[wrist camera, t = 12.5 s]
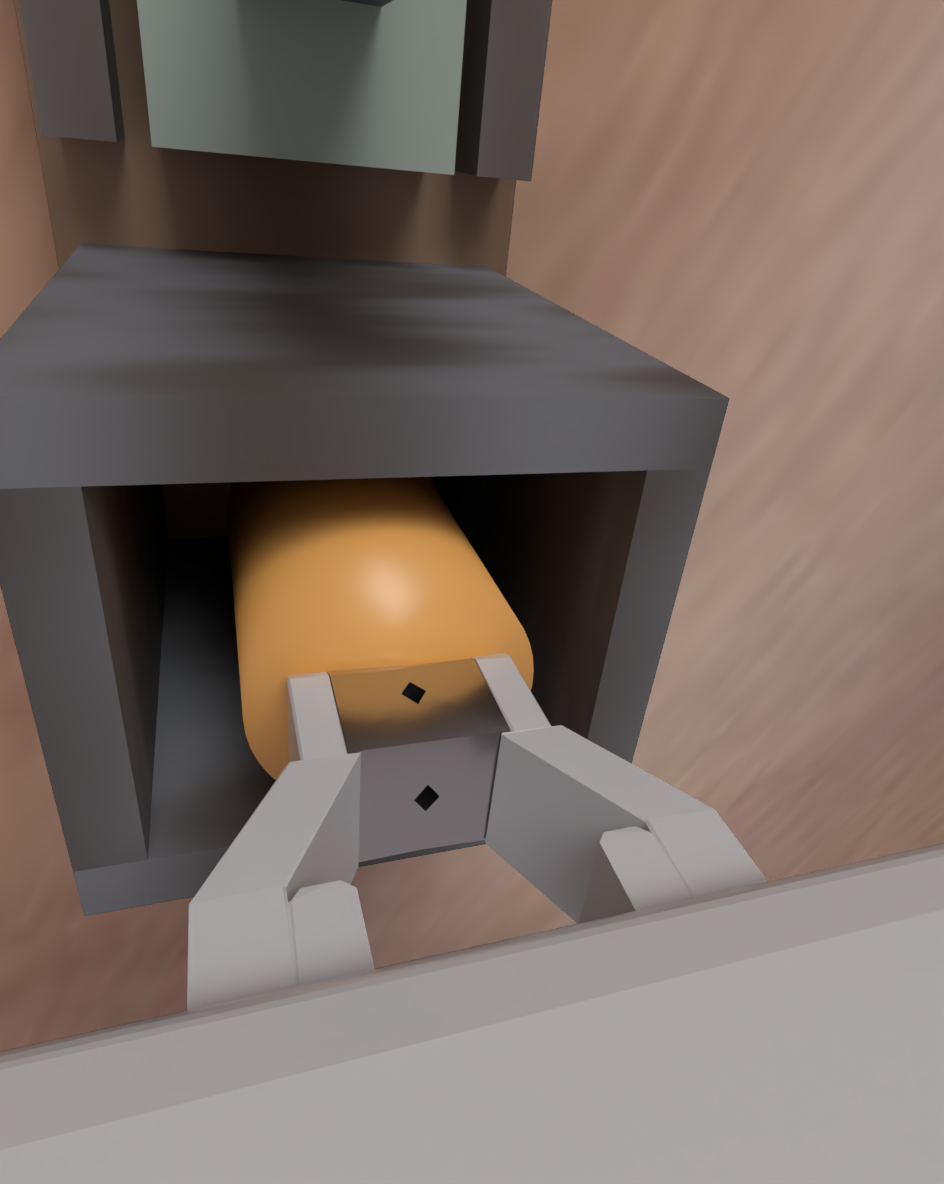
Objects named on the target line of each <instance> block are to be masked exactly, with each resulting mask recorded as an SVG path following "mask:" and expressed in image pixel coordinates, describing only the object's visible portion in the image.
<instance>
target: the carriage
mask: <svg viewBox="0 0 944 1184" xmlns="http://www.w3.org/2000/svg"><path fill="white" fill-rule="evenodd" d="M466 5H467V0H137V7H138V17H139V27H140V36H141V46H142V56H143V66H144V75H145V85H146V95H147V104H148V114H149V124H150V133H151V143H152V147H161V148H171V149H182V150H193V151H203V152H214V153H225V154H235V155H246V156H257V157H267V158H278V159H289V160H299V161H310V162H321V163H332V164H342V165H353V166H364V167H374V168H385V169H396V170H406V171H417V172H428V173H438V174H449V175H454V171H455V157H456V144H457V130H458V116H459V102H460V88H461V74H462V60H463V46H464V33H465V19H466Z"/></svg>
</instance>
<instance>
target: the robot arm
mask: <svg viewBox="0 0 944 1184" xmlns="http://www.w3.org/2000/svg"><path fill="white" fill-rule="evenodd" d="M286 691H287V720H288V747H289V762H288V764H287V765H286V767H285V768H284V769H283V771H282V772H281V774H280V775H279V777H278V778H277V779H276V781H275V782H274V784H273V785H272V787H271V788H270V789H269V791H268V792H267V794H266V795H265V797H264V798H263V799H262V801H261V802H260V804H259V805H258V807H257V808H256V809H255V811H254V812H253V814H252V815H251V817H250V818H249V819H248V821H247V822H246V824H245V825H244V827H243V828H242V829H241V831H240V832H239V834H238V835H237V837H236V838H235V839H234V841H233V842H232V844H231V845H230V847H229V848H228V849H227V851H226V852H225V854H224V855H223V857H222V858H221V859H220V861H219V862H218V864H217V865H216V867H215V868H214V869H213V871H212V872H211V874H210V875H209V877H208V878H207V879H206V881H205V882H204V884H203V885H202V887H201V888H200V889H199V891H198V892H197V894H196V895H195V896H194V898H193V899H192V901H191V902H190V904H189V925H188V985H187V1010H186V1011H182V1012H177V1013H172V1014H168V1015H163V1016H159V1017H154V1018H150V1019H145V1020H141V1021H136V1022H132V1023H127V1024H123V1025H118V1026H114V1027H109V1028H105V1029H100V1030H96V1031H91V1032H87V1033H82V1034H78V1035H73V1036H69V1037H64V1038H60V1039H55V1040H51V1041H46V1042H41V1043H37V1044H32V1045H28V1046H23V1047H19V1048H14V1049H10V1050H5V1051H1V1052H0V1184H944V843H941V844H936V845H932V846H927V847H923V848H918V849H914V850H909V851H905V852H900V853H896V854H891V855H887V856H882V857H878V858H873V859H869V860H864V861H859V862H855V863H850V864H846V865H841V866H837V867H832V868H828V869H823V870H819V871H814V872H810V873H805V874H801V875H796V876H792V877H787V878H783V879H778V880H774V881H769V882H768V881H767V879H766V878H765V877H764V875H763V874H762V873H761V871H760V870H759V869H758V867H757V866H756V865H755V863H754V862H753V861H752V859H751V858H750V857H749V855H748V854H747V852H746V851H745V850H744V848H743V847H742V846H741V844H740V843H739V842H738V840H737V839H736V838H735V836H734V835H733V834H732V832H731V831H730V829H729V828H728V827H727V825H726V824H725V823H724V821H723V820H722V819H721V817H720V816H719V815H718V813H717V812H716V811H715V809H713V808H711V807H709V806H707V805H706V804H704V803H702V802H700V801H698V800H696V799H695V798H693V797H691V796H689V795H687V794H686V793H684V792H682V791H680V790H678V789H676V788H675V787H673V786H671V785H669V784H667V783H666V782H664V781H662V780H660V779H658V778H656V777H655V776H653V775H651V774H649V773H647V772H646V771H644V770H642V769H640V768H638V767H637V766H635V765H633V764H631V763H629V762H627V761H626V760H624V759H622V758H620V757H618V756H617V755H615V754H613V753H611V752H609V751H607V750H606V749H604V748H602V747H600V746H598V745H597V744H595V743H593V742H591V741H589V740H587V739H586V738H584V737H582V736H580V735H578V734H577V733H575V732H573V731H571V730H569V729H568V728H566V727H564V726H562V725H558V726H551V725H550V723H549V721H548V720H547V718H546V716H545V714H544V713H543V711H542V709H541V708H540V706H539V704H538V703H537V701H536V699H535V697H534V696H533V694H532V692H531V691H530V689H529V687H528V686H527V684H526V682H525V680H524V679H523V677H522V675H521V674H520V672H519V670H518V669H517V667H516V665H515V663H514V662H513V660H512V658H511V657H510V656H509V655H507V654H506V653H499V654H491V655H483V656H476V657H470V659H461V660H452V661H443V662H433V663H424V664H415V665H405V666H402V665H399V666H387V667H375V668H363V669H350V670H338V671H327V673H326V672H317V673H307V674H296V675H287V682H286ZM481 840H486V841H485V843H486V844H487V845H488V846H489V847H491V848H492V849H493V850H494V851H495V852H496V853H497V854H499V855H500V856H501V857H502V858H503V859H504V860H505V861H507V862H508V863H509V864H510V865H511V866H512V867H514V868H515V869H516V870H517V871H518V872H519V873H520V874H522V875H523V876H524V877H525V878H526V879H527V880H528V881H530V882H531V883H532V884H533V885H534V886H535V887H536V888H538V889H539V890H540V891H541V892H542V893H543V894H544V895H546V896H547V897H548V898H549V899H550V900H551V901H553V902H554V903H555V904H556V905H557V906H558V907H559V908H561V909H562V910H563V911H564V912H565V913H566V914H567V915H569V916H570V917H571V918H572V919H573V920H574V921H575V922H577V923H578V924H574V925H570V926H565V927H561V928H556V929H552V930H547V931H543V932H538V933H534V934H529V935H525V936H520V937H516V938H511V939H507V940H502V941H498V942H493V943H489V944H484V945H480V946H475V947H471V948H466V949H462V950H457V951H452V952H448V953H443V954H439V955H434V956H430V957H425V958H421V959H416V960H412V961H407V962H403V963H398V964H394V965H389V966H385V967H380V968H376V969H375V968H374V964H373V959H372V955H371V950H370V946H369V941H368V936H367V932H366V927H365V923H364V918H363V914H362V909H361V905H360V900H359V896H358V891H357V888H356V887H354V886H352V885H351V883H352V881H353V878H354V876H355V873H356V871H357V869H358V862H363V861H368V860H373V859H377V858H382V857H387V856H392V855H397V854H402V853H407V852H411V851H416V850H421V849H428V848H434V847H441V846H448V845H454V844H461V843H468V842H474V841H481Z"/></svg>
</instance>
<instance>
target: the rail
mask: <svg viewBox="0 0 944 1184" xmlns="http://www.w3.org/2000/svg"><path fill="white" fill-rule="evenodd" d="M14 4H15V10H16V16H17V22H18V28H19V34H20V40H21V45H22V51H23V57H24V63H25V69H26V75H27V81H28V87H29V93H30V99H31V105H32V111H33V117H34V123H35V129H36V135H37V140H38V146H39V152H40V158H41V164H42V170H43V176H44V182H45V188H46V194H47V200H48V206H49V212H50V218H51V224H52V230H53V235H54V241H55V247H56V253H57V259H58V265H59V270H58V272H57V273H56V274H55V275H54V276H53V278H52V279H51V280H50V281H49V282H48V283H47V285H46V286H45V287H44V288H43V289H42V291H41V292H40V293H39V294H38V295H37V296H36V298H35V299H34V300H33V301H32V302H31V304H30V305H29V306H28V307H27V308H26V309H25V311H24V312H23V313H22V314H21V315H20V316H19V318H18V319H17V320H16V321H15V322H14V324H13V325H12V326H11V327H10V328H9V329H8V331H7V332H6V333H5V334H4V335H3V337H2V338H1V339H0V586H1V589H2V593H3V597H4V601H5V605H6V609H7V613H8V617H9V621H10V625H11V629H12V633H13V637H14V641H15V644H16V648H17V652H18V656H19V660H20V664H21V668H22V672H23V676H24V680H25V684H26V688H27V692H28V696H29V699H30V703H31V707H32V711H33V715H34V719H35V723H36V727H37V731H38V735H39V739H40V743H41V747H42V751H43V754H44V758H45V762H46V766H47V770H48V774H49V778H50V782H51V786H52V790H53V794H54V798H55V802H56V805H57V809H58V813H59V817H60V821H61V825H62V829H63V833H64V837H65V841H66V845H67V849H68V853H69V857H70V860H71V864H72V868H73V872H74V876H75V880H76V884H77V888H78V892H79V896H80V900H81V904H82V908H83V912H84V915H85V916H89V915H94V914H100V913H105V912H111V911H116V910H122V909H128V908H133V907H139V906H144V905H150V904H155V903H161V902H166V901H172V900H178V899H183V898H189V897H194V896H195V895H196V894H197V892H198V891H199V889H200V888H201V887H202V885H203V884H204V882H205V881H206V879H207V878H208V877H209V875H210V874H211V872H212V871H213V869H214V868H215V867H216V865H217V864H218V862H219V861H220V859H221V858H222V857H223V855H224V854H225V852H226V851H227V849H228V848H229V847H230V845H231V844H232V842H233V841H234V839H235V838H236V837H237V835H238V834H239V832H240V831H241V829H242V828H243V827H244V825H245V824H246V822H247V821H248V819H249V818H250V817H251V815H252V814H253V812H254V811H255V809H256V808H257V807H258V805H259V804H260V802H261V801H262V799H263V798H264V797H265V795H266V794H267V792H268V791H269V789H270V788H271V787H272V785H273V784H274V782H275V781H276V780H275V779H274V778H272V777H271V776H270V775H269V774H268V773H267V772H266V771H265V769H264V768H263V767H262V766H261V765H260V763H259V762H258V761H257V759H256V757H255V755H254V754H253V752H252V750H251V748H250V746H249V743H248V740H247V737H246V734H245V729H244V723H243V714H242V701H241V688H240V675H239V662H238V649H237V636H236V623H235V610H234V597H233V584H232V571H231V558H230V545H229V532H228V519H227V504H228V497H229V491H230V488H231V485H232V482H259V481H294V480H329V479H364V478H399V477H429V479H430V481H431V482H432V484H433V485H434V487H435V489H436V490H437V492H438V493H439V495H440V497H441V498H442V500H443V501H444V503H445V504H446V506H447V508H448V509H449V511H450V512H451V514H452V516H453V517H454V519H455V520H456V522H457V523H458V525H459V527H460V528H461V530H462V531H463V533H464V535H465V536H466V538H467V539H468V541H469V543H470V544H471V546H472V547H473V549H474V550H475V552H476V554H477V555H478V557H479V558H480V560H481V562H482V563H483V565H484V566H485V568H486V569H487V571H488V573H489V574H490V576H491V577H492V579H493V581H494V582H495V584H496V585H497V587H498V589H499V590H500V592H501V593H502V595H503V596H504V598H505V600H506V601H507V603H508V604H509V606H510V608H511V609H512V611H513V612H514V614H515V615H516V617H517V619H518V620H519V622H520V623H521V625H522V627H523V628H524V630H525V633H526V635H527V637H528V640H529V642H530V646H531V651H532V655H533V668H534V673H533V684H532V689H531V692H532V694H533V696H534V697H535V699H536V701H537V703H538V704H539V706H540V708H541V709H542V711H543V713H544V714H545V716H546V718H547V720H548V721H549V723H550V725H551V726H558V725H562V726H564V727H566V728H568V729H569V730H571V731H573V732H575V733H577V734H578V735H580V736H582V737H584V738H586V739H587V740H589V741H591V742H593V743H595V744H597V745H598V746H600V747H602V748H604V749H606V750H607V751H609V752H611V753H613V754H615V755H617V756H618V757H620V758H622V759H624V760H626V761H627V762H629V763H631V764H632V760H633V756H634V752H635V749H636V745H637V741H638V737H639V734H640V730H641V726H642V723H643V719H644V715H645V711H646V708H647V704H648V700H649V696H650V693H651V689H652V685H653V682H654V678H655V674H656V670H657V667H658V663H659V659H660V655H661V652H662V648H663V644H664V641H665V637H666V633H667V629H668V626H669V622H670V618H671V614H672V611H673V607H674V603H675V600H676V596H677V592H678V588H679V585H680V581H681V577H682V573H683V570H684V566H685V562H686V559H687V555H688V551H689V547H690V544H691V540H692V536H693V532H694V529H695V525H696V521H697V518H698V514H699V510H700V506H701V503H702V499H703V495H704V491H705V488H706V484H707V480H708V476H709V473H710V469H711V465H712V462H713V458H714V454H715V450H716V447H717V443H718V439H719V435H720V432H721V428H722V424H723V421H724V417H725V413H726V409H727V406H728V402H729V398H728V397H726V396H724V395H722V394H720V393H719V392H717V391H715V390H713V389H711V388H709V387H708V386H706V385H704V384H702V383H700V382H698V381H696V380H695V379H693V378H691V377H689V376H687V375H685V374H684V373H682V372H680V371H678V370H676V369H674V368H673V367H671V366H669V365H667V364H665V363H663V362H662V361H660V360H658V359H656V358H654V357H652V356H650V355H649V354H647V353H645V352H643V351H641V350H639V349H638V348H636V347H634V346H632V345H630V344H628V343H627V342H625V341H623V340H621V339H619V338H617V337H616V336H614V335H612V334H610V333H608V332H606V331H604V330H603V329H601V328H599V327H597V326H595V325H593V324H592V323H590V322H588V321H586V320H584V319H582V318H581V317H579V316H577V315H575V314H573V313H571V312H570V311H568V310H566V309H564V308H562V307H560V306H558V305H557V304H555V303H553V302H551V301H549V300H547V299H546V298H544V297H542V296H540V295H538V294H536V293H535V292H533V291H531V290H529V289H527V288H525V287H523V286H522V285H520V284H518V283H516V282H514V281H512V280H511V279H509V278H507V277H506V269H507V260H508V251H509V241H510V232H511V223H512V214H513V205H514V195H515V186H516V180H523V181H531V177H532V169H533V160H534V152H535V143H536V135H537V126H538V118H539V109H540V100H541V92H542V83H543V75H544V66H545V58H546V49H547V41H548V32H549V24H550V15H551V7H552V0H467V5H466V19H465V33H464V46H463V60H462V74H461V88H460V102H459V116H458V130H457V144H456V157H455V171H454V175H449V174H438V173H428V172H417V171H406V170H396V169H385V168H374V167H364V166H353V165H342V164H332V163H321V162H310V161H299V160H289V159H278V158H267V157H257V156H246V155H235V154H225V153H214V152H203V151H193V150H182V149H171V148H161V147H152V143H151V133H150V124H149V114H148V104H147V95H146V85H145V75H144V66H143V56H142V46H141V36H140V27H139V17H138V7H137V0H14ZM485 841H486V840H481V841H474V842H468V843H461V844H454V845H448V846H441V847H434V848H428V849H421V850H416V851H411V852H407V853H402V854H397V855H392V856H387V857H382V858H377V859H373V860H368V861H363V862H358V867H361V866H366V865H372V864H377V863H383V862H389V861H394V860H400V859H405V858H411V857H416V856H422V855H427V854H433V853H438V852H444V851H450V850H455V849H461V848H466V847H472V846H477V845H483V844H486V843H485Z"/></svg>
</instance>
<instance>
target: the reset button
mask: <svg viewBox="0 0 944 1184" xmlns="http://www.w3.org/2000/svg"><path fill="white" fill-rule="evenodd" d="M227 519H228V532H229V545H230V558H231V571H232V584H233V597H234V610H235V623H236V636H237V649H238V662H239V675H240V688H241V701H242V714H243V723H244V729H245V734H246V737H247V740H248V743H249V746H250V748H251V750H252V752H253V754H254V755H255V757H256V759H257V761H258V762H259V763H260V765H261V766H262V767H263V768H264V769H265V771H266V772H267V773H268V774H269V775H270V776H271V777H272V778H274V779H275V780H276V779H277V778H278V777H279V775H280V774H281V772H282V771H283V769H284V768H285V767H286V765H287V764H288V762H289V747H288V720H287V691H286V682H287V675H296V674H307V673H317V672H326V673H327V671H338V670H350V669H363V668H375V667H387V666H399V665H402V666H405V665H415V664H424V663H433V662H443V661H452V660H461V659H470V657H476V656H483V655H491V654H499V653H506V654H507V655H509V656H510V657H511V658H512V660H513V662H514V663H515V665H516V667H517V669H518V670H519V672H520V674H521V675H522V677H523V679H524V680H525V682H526V684H527V686H528V687H529V689H530V691H531V689H532V684H533V673H534V668H533V655H532V651H531V646H530V642H529V640H528V637H527V635H526V633H525V630H524V628H523V627H522V625H521V623H520V622H519V620H518V619H517V617H516V615H515V614H514V612H513V611H512V609H511V608H510V606H509V604H508V603H507V601H506V600H505V598H504V596H503V595H502V593H501V592H500V590H499V589H498V587H497V585H496V584H495V582H494V581H493V579H492V577H491V576H490V574H489V573H488V571H487V569H486V568H485V566H484V565H483V563H482V562H481V560H480V558H479V557H478V555H477V554H476V552H475V550H474V549H473V547H472V546H471V544H470V543H469V541H468V539H467V538H466V536H465V535H464V533H463V531H462V530H461V528H460V527H459V525H458V523H457V522H456V520H455V519H454V517H453V516H452V514H451V512H450V511H449V509H448V508H447V506H446V504H445V503H444V501H443V500H442V498H441V497H440V495H439V493H438V492H437V490H436V489H435V487H434V485H433V484H432V482H431V481H430V479H429V477H399V478H364V479H329V480H294V481H259V482H232V485H231V488H230V491H229V497H228V504H227Z"/></svg>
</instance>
